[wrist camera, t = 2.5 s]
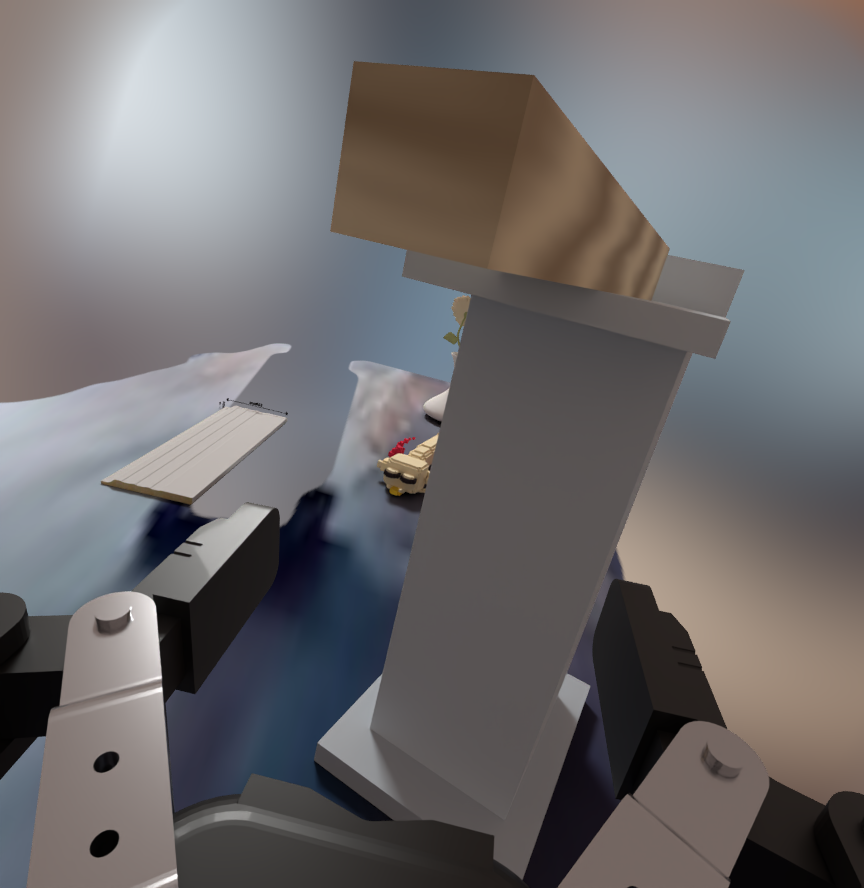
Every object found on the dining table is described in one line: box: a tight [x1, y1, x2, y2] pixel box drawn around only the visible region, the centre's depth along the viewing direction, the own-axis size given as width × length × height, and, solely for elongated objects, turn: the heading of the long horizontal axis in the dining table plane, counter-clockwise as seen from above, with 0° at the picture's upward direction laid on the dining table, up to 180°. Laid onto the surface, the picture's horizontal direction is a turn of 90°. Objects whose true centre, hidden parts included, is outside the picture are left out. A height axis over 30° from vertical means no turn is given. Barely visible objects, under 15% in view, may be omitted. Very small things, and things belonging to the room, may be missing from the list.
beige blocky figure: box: [377, 433, 439, 496], centre depth 81 cm, size 10×9×25 cm
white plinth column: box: [314, 250, 744, 880], centre depth 33 cm, size 22×14×35 cm, turn 152°
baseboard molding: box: [101, 398, 288, 504], centre depth 73 cm, size 31×3×12 cm
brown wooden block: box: [330, 61, 669, 301], centre depth 21 cm, size 26×4×3 cm, turn 152°
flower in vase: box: [423, 296, 471, 422], centre depth 105 cm, size 13×11×25 cm
